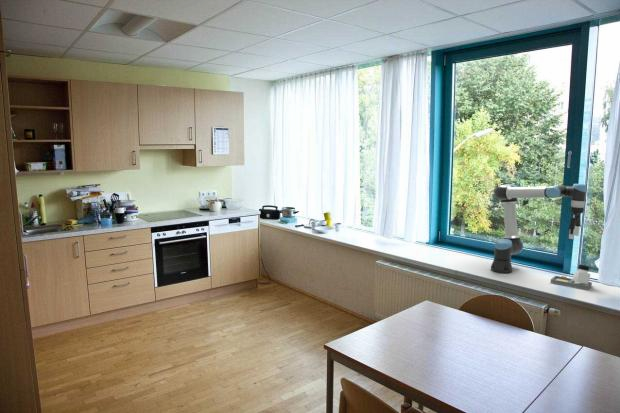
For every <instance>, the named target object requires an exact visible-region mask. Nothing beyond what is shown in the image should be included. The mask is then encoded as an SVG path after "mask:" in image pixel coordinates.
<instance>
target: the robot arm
mask: <svg viewBox="0 0 620 413" xmlns="http://www.w3.org/2000/svg"><path fill="white" fill-rule="evenodd" d="M493 194H494V196H495V198H496V199H497V200H499V201H500V203H501V204H502V206H503V217H504V218H503V220H504V221H503V222H504V234H505V235H504V236H503V238H500V239H499V238H498V239H496V240H495V241H494V250H493V251H494V253H493V260H492V263H491V266H490V271H492V272H495V273H499V274H512V273H513V271H514V270H513V265H512V261H511V260H512V256H514V255H517V254H519V253H520V254H521V252H522V251H523V249H524V243H523V241H522V240H521V236H520V235H519V233H518V222H517V221H518V220H517V206H516V204H517V203H518V199H524V198H525V199H533V198H534V199H536V198H537V199H539V198H542V199H543V198H544V199H545V198H548V199H549V198H550V199H557V198H562V197H565V198H571V201H570V202H571V203H570V211H569V212H570V213H573V214H571V218H570V224H569V227H568V230H569V232H568V233H569V234H568V239H571V240H574V238H575V237H579V235H580V228H581V227H582V224H581V222H582V221H581V220H582V219H581V217H582V216H581V215H582V214H583V213H584V212H585V211H584V209H585V208H584V207H585V204H586V200H585V199H586V194H587V185H586V184H584V183H573V185H572V186H571V185H561V184H555V185H554V186H526V187H525V186H524V187H522V186H521V187H520V186H519V187H518V186H517V185H515V184H511V183H509V184H501V185H498V186H496V187H495V189H494V192H493Z"/></svg>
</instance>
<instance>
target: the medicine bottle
mask: <svg viewBox="0 0 620 413" xmlns="http://www.w3.org/2000/svg"><path fill="white" fill-rule="evenodd" d="M589 271H590V266H588V265H584V264H578V267H577V270H574V272H573V276H572V279H573V281H575V282H579V283H583V284H588V283H589V282H590V278H591V273H589Z"/></svg>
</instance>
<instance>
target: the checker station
mask: <svg viewBox="0 0 620 413" xmlns="http://www.w3.org/2000/svg"><path fill="white" fill-rule="evenodd" d="M550 284H554V285H559V286H565V287H569V288H574V289H580V290H584V291H589V289H591V288H592V287H593V286H592V285H593V282H592V281H589V283H588V284H583V283H579V282H575V281H573V278H569V277H567V275H561V276H559V275H554V276H553V277H552V278H550Z"/></svg>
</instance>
